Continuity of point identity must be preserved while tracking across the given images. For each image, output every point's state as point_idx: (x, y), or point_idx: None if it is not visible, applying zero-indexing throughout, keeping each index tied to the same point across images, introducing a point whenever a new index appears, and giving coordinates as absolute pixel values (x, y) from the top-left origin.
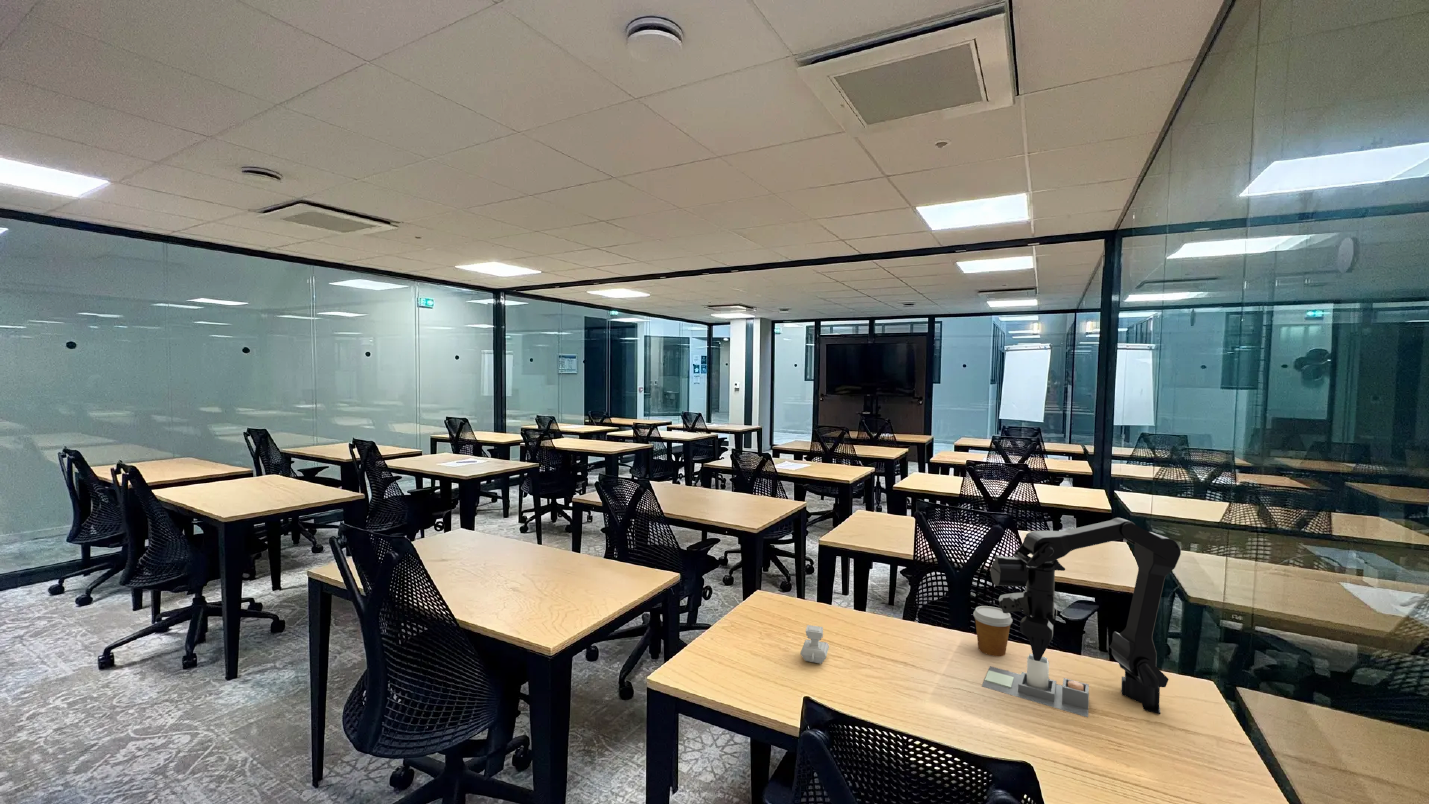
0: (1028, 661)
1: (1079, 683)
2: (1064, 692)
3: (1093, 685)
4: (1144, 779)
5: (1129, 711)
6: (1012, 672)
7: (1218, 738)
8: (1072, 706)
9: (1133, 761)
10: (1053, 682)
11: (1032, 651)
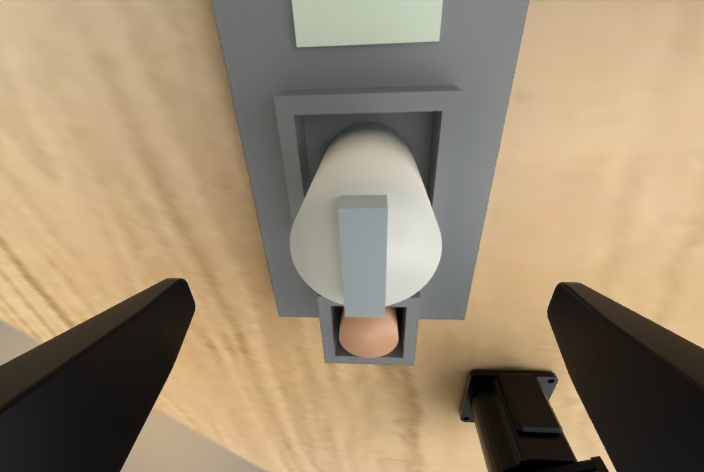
0: (319, 187)
1: (385, 348)
2: None
3: None
4: None
5: (439, 373)
6: (520, 17)
7: (413, 462)
8: None
9: (189, 365)
10: None
11: (68, 334)
